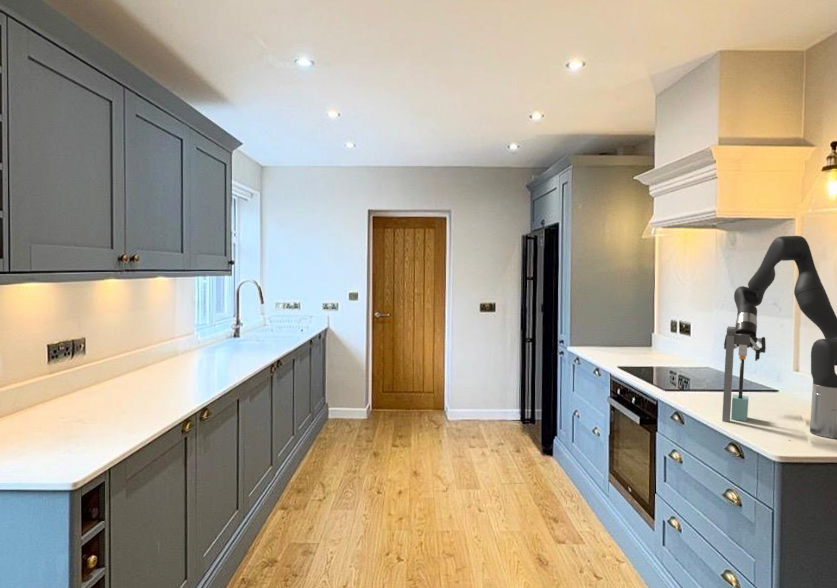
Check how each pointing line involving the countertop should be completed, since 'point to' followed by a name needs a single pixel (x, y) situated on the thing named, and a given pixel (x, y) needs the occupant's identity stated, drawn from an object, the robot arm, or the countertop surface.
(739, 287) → the robot arm
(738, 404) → the sleeve
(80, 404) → the countertop surface
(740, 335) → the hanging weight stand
